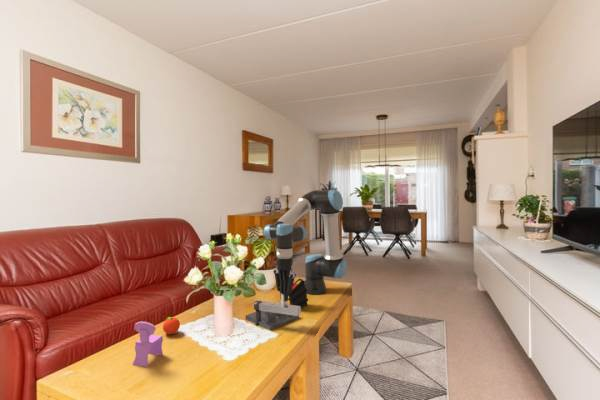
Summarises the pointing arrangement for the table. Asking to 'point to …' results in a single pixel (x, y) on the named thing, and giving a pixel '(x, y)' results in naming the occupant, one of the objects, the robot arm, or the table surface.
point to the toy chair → (146, 343)
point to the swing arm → (277, 308)
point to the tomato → (171, 325)
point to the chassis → (270, 319)
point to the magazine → (298, 294)
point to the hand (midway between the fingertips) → (284, 307)
